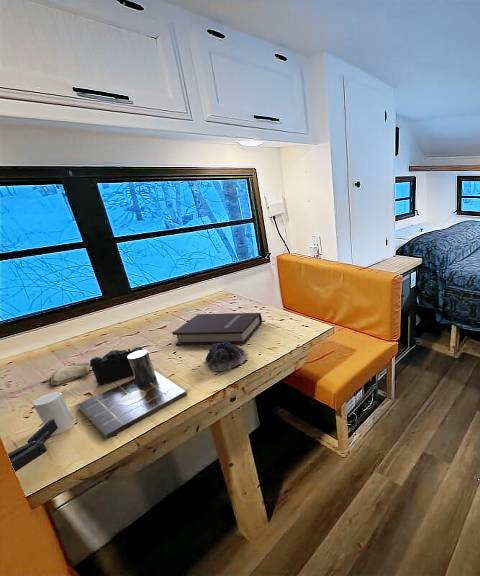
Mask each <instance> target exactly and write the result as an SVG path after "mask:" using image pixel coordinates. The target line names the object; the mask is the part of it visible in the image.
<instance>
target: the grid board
mask: <svg viewBox="0 0 480 576" xmlns="http://www.w3.org/2000/svg"><path fill="white" fill-rule="evenodd" d="M154 372H155V375H156V379H155V380H154V381H153V382H151V383H149V384H146V385H137V383H136V380H135V378H132V379H130V380H128V381H125V382H123V383H122V384H119V385H117V386H114V387H113V388H110V389H109V390H106V391H103V392H101V393H100V394H96V395H95V396H93V397H91V398H89V399H86V400H84V401H81V402H80V403H77V405H76V406H77V408H78V410H80V412H81V413H82V414H83V415H84V416H85V417H86V419H88V420H89V422H90V423H92V425H93V426H94V428H96V430H98V431H99V433H100V434H101V435H102V436H103V437H104V438H105V439H106V440H109V439H111V438H113V437H114V436H116V435H119V434H120V433H122V432H124V431H126V430H127V429H128V428H130V427H132V426H134V425H136V424H138V423H141V421H143V420H145V419H146V418H147V419H148V418H149V417H151V416H152V415H155V414H156V413H158V412H160V411H161V410H164V409H165V408H166V407H169V406H170V405H172V404H174V403H176V402H178V401H179V400H181V399H183V398H184V397H186V396H188V392H187V391H186V390H185V389H183V388H182V387H181V386H179V385H178V384H176V383H175V382H173V381H172V380H170V379H168V378H167V377H165V376H164V375H163V374H161V373H160V372H158V371H156V370H155V369H154Z"/></svg>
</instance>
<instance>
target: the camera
mask: <svg viewBox="0 0 480 576" xmlns="http://www.w3.org/2000/svg"><path fill="white" fill-rule="evenodd" d="M139 350H144V348H142V347H141V346H137V347H134V348H132V349H130V348H128V349H127V350H126V349H123V350H119V349H118V350H117V349H114V350H110V351H109V352H107V353H106V354H104V355H103V356H102V357H100V356H99V357H98V356H94V357H92V358H91V359H90V360H89V363H90V365H91V366H90V368H91V371H92V373H93V375H94V377H95V380H96V382H97V384H98V385H99V386H103V385H107V384H111V383H114V382H117V381H121V380H125V379H127V378H131V377H134V375H133V372H132V369H131V367H130V364H129V361H128V358H127V356H128V355H129V354H131V353H133V352H136V351H139Z"/></svg>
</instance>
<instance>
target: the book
mask: <svg viewBox="0 0 480 576" xmlns="http://www.w3.org/2000/svg"><path fill="white" fill-rule="evenodd" d="M262 324H263V318H262V314H261V312H234V313H231V312H230V313H228V312H227V313H198V314H196V315H194V317H192V318H190V319H189V320H188V321H186V322H185V323H183V324H182V325H181V326H179V327H177V329H176V330H174V331H173V332H172V335H173V336H176V338H177V342H175V347H180V346H185V347H186V346H187V347H188V346H190V347H191V346H212V345H213V344H217V343H224V342H225V341H227V342H230V344H232V345H235V346H238V345H241V344H245V345H246V344H247V342H248V341H249V340H250V339H251V337H253V335H254V334H255V333H256V331H257V330H258V329H259V328H260V327H261V325H262ZM259 326H260V327H259ZM254 332H255V333H254ZM249 338H250V339H249ZM241 346H242V345H241Z"/></svg>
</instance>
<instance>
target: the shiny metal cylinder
mask: <svg viewBox="0 0 480 576" xmlns="http://www.w3.org/2000/svg"><path fill="white" fill-rule="evenodd" d="M150 357H151V356H150V354H149V351H148V350H145V349H143V350H139V351H136V352H133V353H131V354H129V355H128V356H127V358H128V361H129V364H130V367H131V369H132V372H133V375H134V376H133V377H134V378H135V380H136V383H137V385H146V384H149V383H151V382H153V381H154V380H155V379H156V375H155V372H154V370H155V368H154V366H153V363H152V360H151V358H150ZM134 378H133V379H134Z"/></svg>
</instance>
